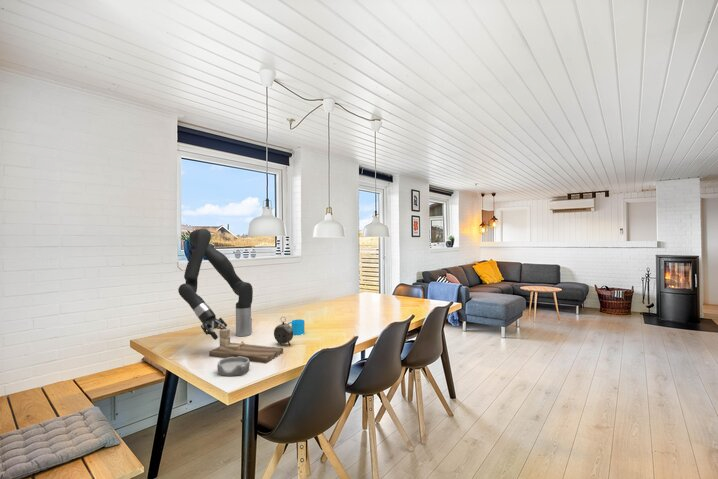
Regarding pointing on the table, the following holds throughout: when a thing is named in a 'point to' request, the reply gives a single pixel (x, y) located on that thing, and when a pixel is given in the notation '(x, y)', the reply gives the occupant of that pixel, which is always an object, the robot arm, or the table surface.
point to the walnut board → (249, 353)
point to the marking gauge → (228, 341)
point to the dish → (233, 366)
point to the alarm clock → (283, 333)
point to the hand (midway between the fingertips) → (222, 336)
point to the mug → (297, 326)
